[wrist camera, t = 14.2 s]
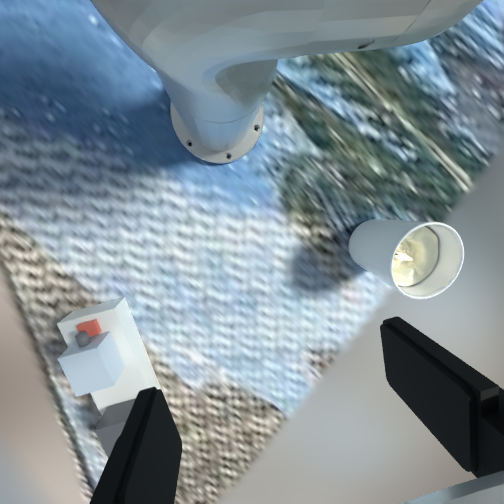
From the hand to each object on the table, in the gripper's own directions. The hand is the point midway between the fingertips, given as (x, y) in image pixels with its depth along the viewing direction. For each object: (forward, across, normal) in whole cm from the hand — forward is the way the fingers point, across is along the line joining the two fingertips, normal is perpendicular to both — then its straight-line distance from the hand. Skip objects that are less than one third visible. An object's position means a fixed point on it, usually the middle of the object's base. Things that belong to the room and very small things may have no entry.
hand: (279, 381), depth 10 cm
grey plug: (+30, +23, +10) cm, 39 cm away
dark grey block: (+30, +23, +22) cm, 44 cm away
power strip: (+30, +23, +16) cm, 41 cm away
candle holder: (+31, -22, +6) cm, 38 cm away
